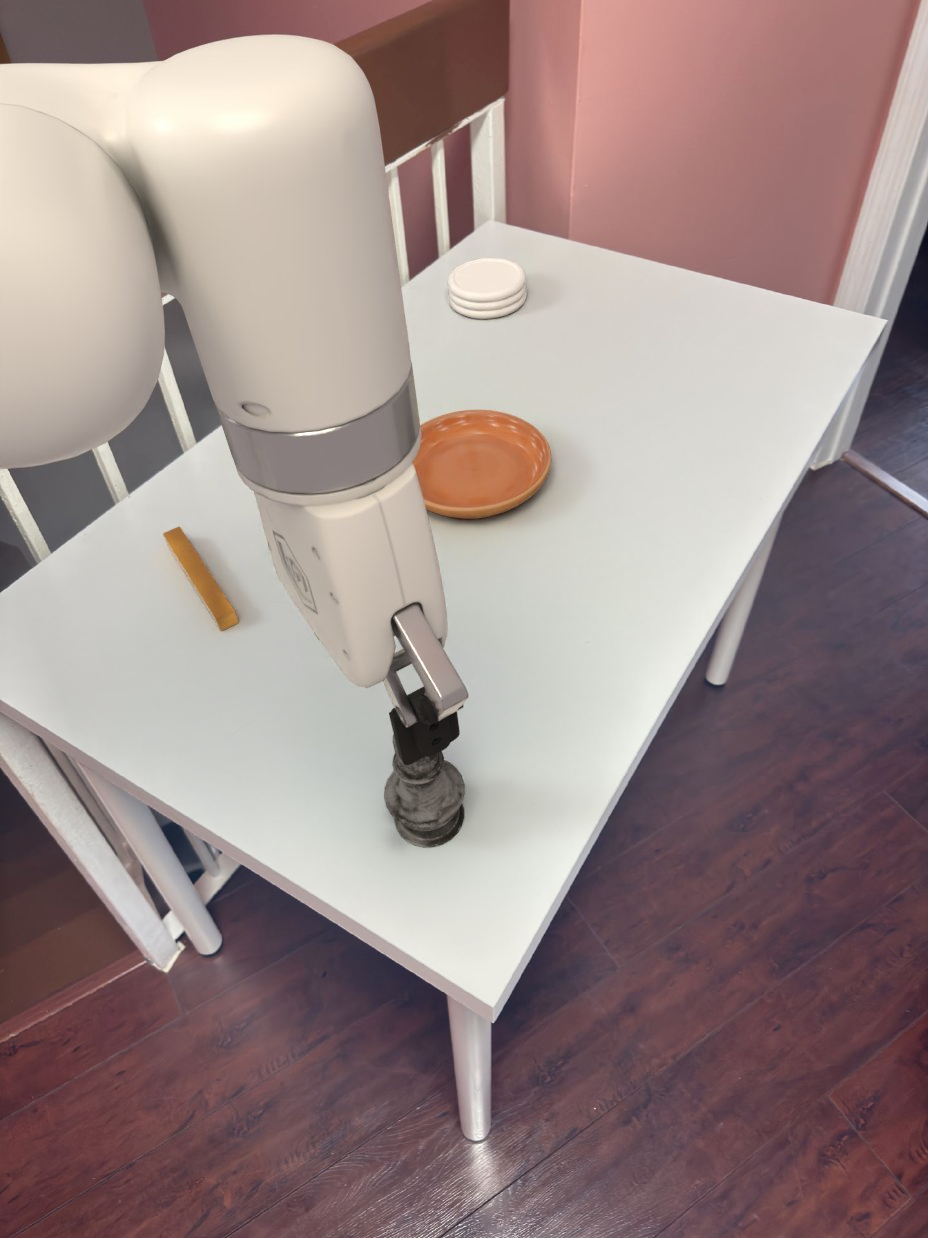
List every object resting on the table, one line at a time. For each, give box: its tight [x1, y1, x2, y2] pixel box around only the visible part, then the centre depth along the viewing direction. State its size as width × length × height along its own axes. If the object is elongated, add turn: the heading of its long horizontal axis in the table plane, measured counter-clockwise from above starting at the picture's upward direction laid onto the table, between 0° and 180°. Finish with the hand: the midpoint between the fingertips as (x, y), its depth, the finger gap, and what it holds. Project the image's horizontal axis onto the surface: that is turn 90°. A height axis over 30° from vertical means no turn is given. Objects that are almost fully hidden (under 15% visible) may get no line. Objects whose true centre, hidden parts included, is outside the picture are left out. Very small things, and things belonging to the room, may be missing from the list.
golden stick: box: [162, 526, 240, 632], centre depth 86 cm, size 2×14×2 cm, turn 32°
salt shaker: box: [383, 733, 466, 848], centre depth 64 cm, size 6×6×12 cm
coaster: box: [447, 257, 528, 320], centre depth 117 cm, size 10×10×4 cm
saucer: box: [412, 409, 552, 520], centre depth 93 cm, size 16×16×3 cm
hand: (383, 684), depth 48 cm, fingers open, 9 cm apart
